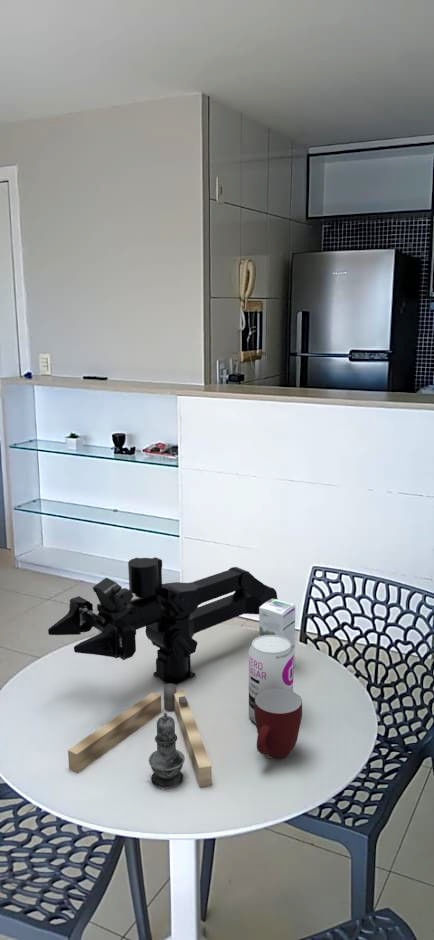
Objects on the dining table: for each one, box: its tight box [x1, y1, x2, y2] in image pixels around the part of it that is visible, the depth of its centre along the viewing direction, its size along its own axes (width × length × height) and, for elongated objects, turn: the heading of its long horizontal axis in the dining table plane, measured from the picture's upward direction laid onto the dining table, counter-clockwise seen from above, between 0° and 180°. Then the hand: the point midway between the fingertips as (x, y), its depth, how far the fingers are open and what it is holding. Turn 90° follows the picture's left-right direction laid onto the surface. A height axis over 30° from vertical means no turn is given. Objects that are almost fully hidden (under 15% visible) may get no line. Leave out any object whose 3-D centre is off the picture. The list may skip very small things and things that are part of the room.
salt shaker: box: [148, 712, 186, 790], centre depth 118 cm, size 6×6×12 cm
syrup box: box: [258, 598, 296, 667], centre depth 153 cm, size 6×6×14 cm
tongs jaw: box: [67, 691, 162, 774], centre depth 130 cm, size 22×2×4 cm, turn 145°
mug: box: [254, 688, 303, 760], centre depth 124 cm, size 11×8×10 cm
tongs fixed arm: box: [163, 683, 213, 788], centre depth 129 cm, size 25×4×4 cm, turn 13°
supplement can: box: [248, 635, 295, 724], centre depth 135 cm, size 8×8×15 cm
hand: (61, 640), depth 132 cm, fingers open, 9 cm apart
